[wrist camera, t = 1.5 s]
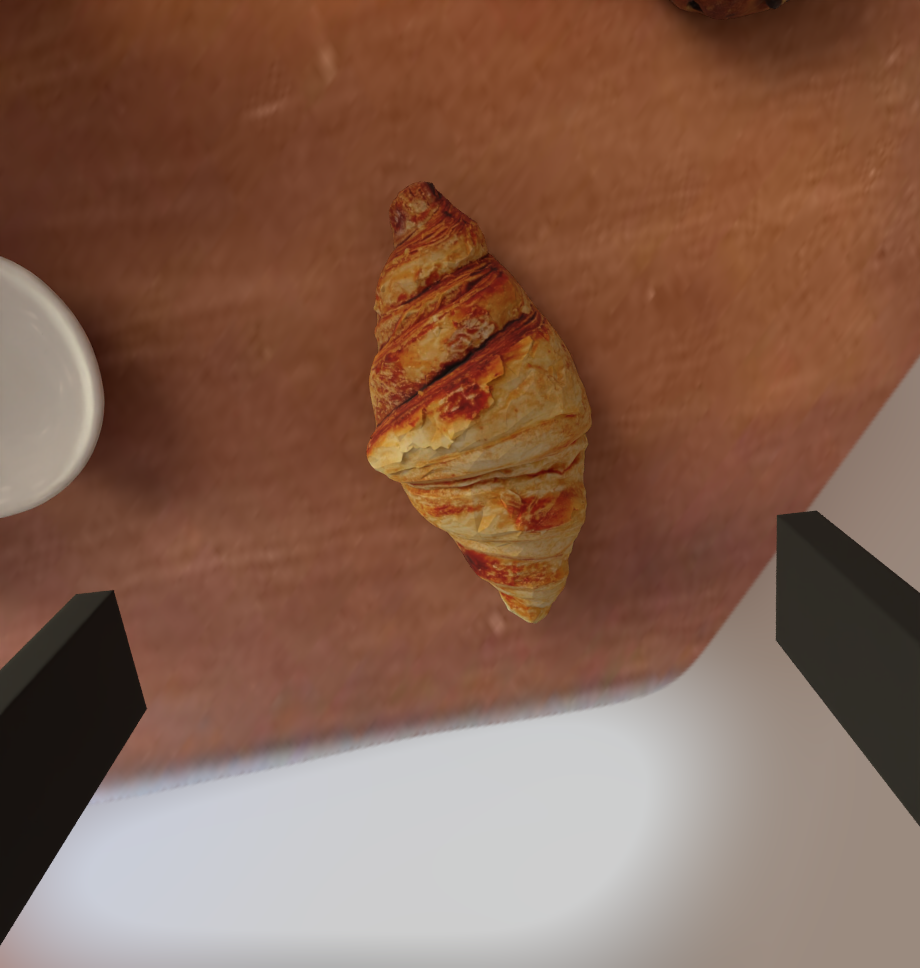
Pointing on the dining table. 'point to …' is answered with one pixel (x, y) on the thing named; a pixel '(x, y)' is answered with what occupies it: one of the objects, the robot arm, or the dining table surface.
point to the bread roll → (727, 7)
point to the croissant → (477, 404)
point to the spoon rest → (43, 392)
